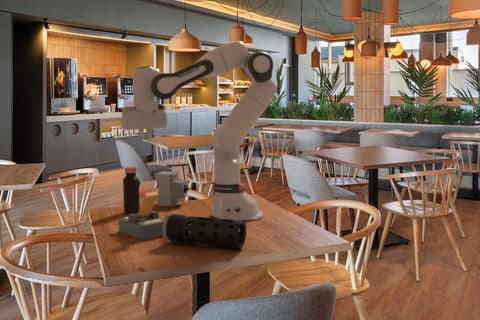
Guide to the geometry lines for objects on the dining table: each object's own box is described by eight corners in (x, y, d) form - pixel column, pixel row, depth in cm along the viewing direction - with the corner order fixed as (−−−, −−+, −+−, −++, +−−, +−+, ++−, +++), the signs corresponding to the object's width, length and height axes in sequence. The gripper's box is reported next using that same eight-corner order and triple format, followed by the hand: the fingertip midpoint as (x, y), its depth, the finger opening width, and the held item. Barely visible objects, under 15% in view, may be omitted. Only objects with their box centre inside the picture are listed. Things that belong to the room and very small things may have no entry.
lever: (135, 217, 192) (144, 193, 186) (147, 214, 196) (156, 191, 190) (138, 220, 191) (146, 196, 185) (149, 218, 194) (159, 194, 188)
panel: (118, 231, 195) (118, 212, 194) (145, 225, 203) (145, 207, 202) (141, 240, 184) (141, 219, 183) (169, 234, 192) (169, 214, 191)
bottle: (136, 210, 231) (135, 166, 228) (142, 213, 225) (140, 167, 222) (121, 211, 227) (120, 167, 225) (127, 215, 221) (125, 169, 219)
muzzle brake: (237, 254, 169) (238, 223, 167) (161, 246, 177) (160, 216, 176) (246, 246, 178) (246, 216, 176) (173, 238, 186) (172, 210, 185)
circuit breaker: (186, 206, 237) (185, 174, 235) (157, 205, 240) (156, 173, 238) (191, 203, 245) (190, 172, 243) (162, 202, 247) (161, 171, 245)
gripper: (126, 107, 202) (127, 142, 204) (168, 105, 216) (169, 138, 218) (117, 106, 207) (119, 140, 209) (160, 105, 221) (161, 137, 222)
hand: (145, 139), depth 213 cm, fingers closed
